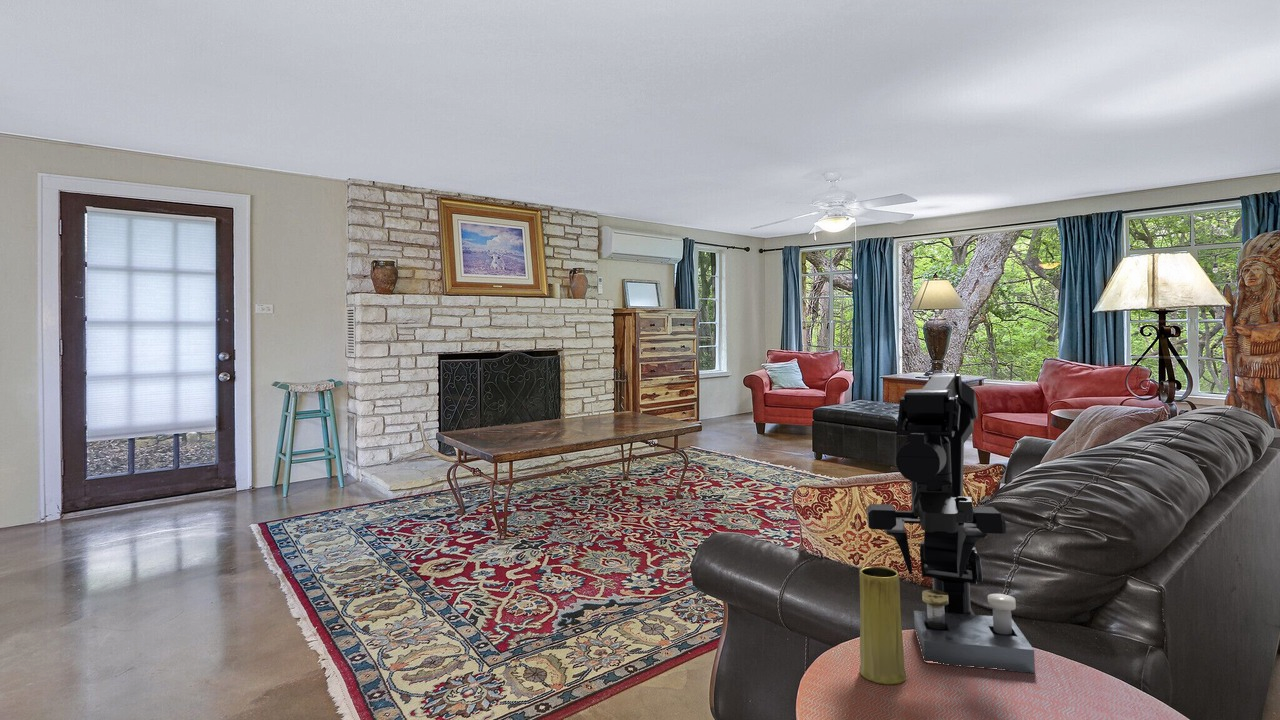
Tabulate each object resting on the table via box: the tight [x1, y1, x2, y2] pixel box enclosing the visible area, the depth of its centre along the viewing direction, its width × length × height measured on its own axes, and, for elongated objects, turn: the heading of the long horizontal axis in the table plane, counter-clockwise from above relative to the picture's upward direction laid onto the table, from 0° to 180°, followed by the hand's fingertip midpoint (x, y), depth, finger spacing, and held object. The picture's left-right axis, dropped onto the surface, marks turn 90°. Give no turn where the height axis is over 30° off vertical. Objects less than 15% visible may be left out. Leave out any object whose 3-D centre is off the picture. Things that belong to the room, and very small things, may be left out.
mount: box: [913, 610, 1036, 674], centre depth 96 cm, size 12×14×3 cm
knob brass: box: [921, 589, 949, 629], centre depth 98 cm, size 4×4×5 cm
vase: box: [859, 565, 907, 686], centre depth 90 cm, size 6×6×14 cm
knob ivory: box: [987, 593, 1017, 635], centre depth 95 cm, size 4×4×5 cm
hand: (934, 574), depth 98 cm, fingers open, 7 cm apart
